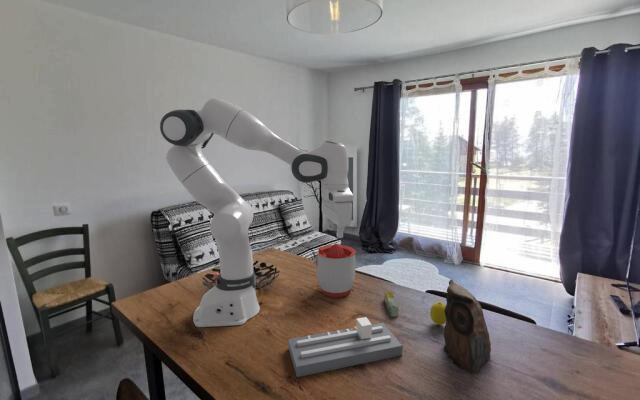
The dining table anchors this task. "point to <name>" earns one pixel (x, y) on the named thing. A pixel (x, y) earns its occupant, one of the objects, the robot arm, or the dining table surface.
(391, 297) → the medication box
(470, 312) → the owl
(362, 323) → the fader
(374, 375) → the dining table surface
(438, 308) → the lemon
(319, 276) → the citrus juicer
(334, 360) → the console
